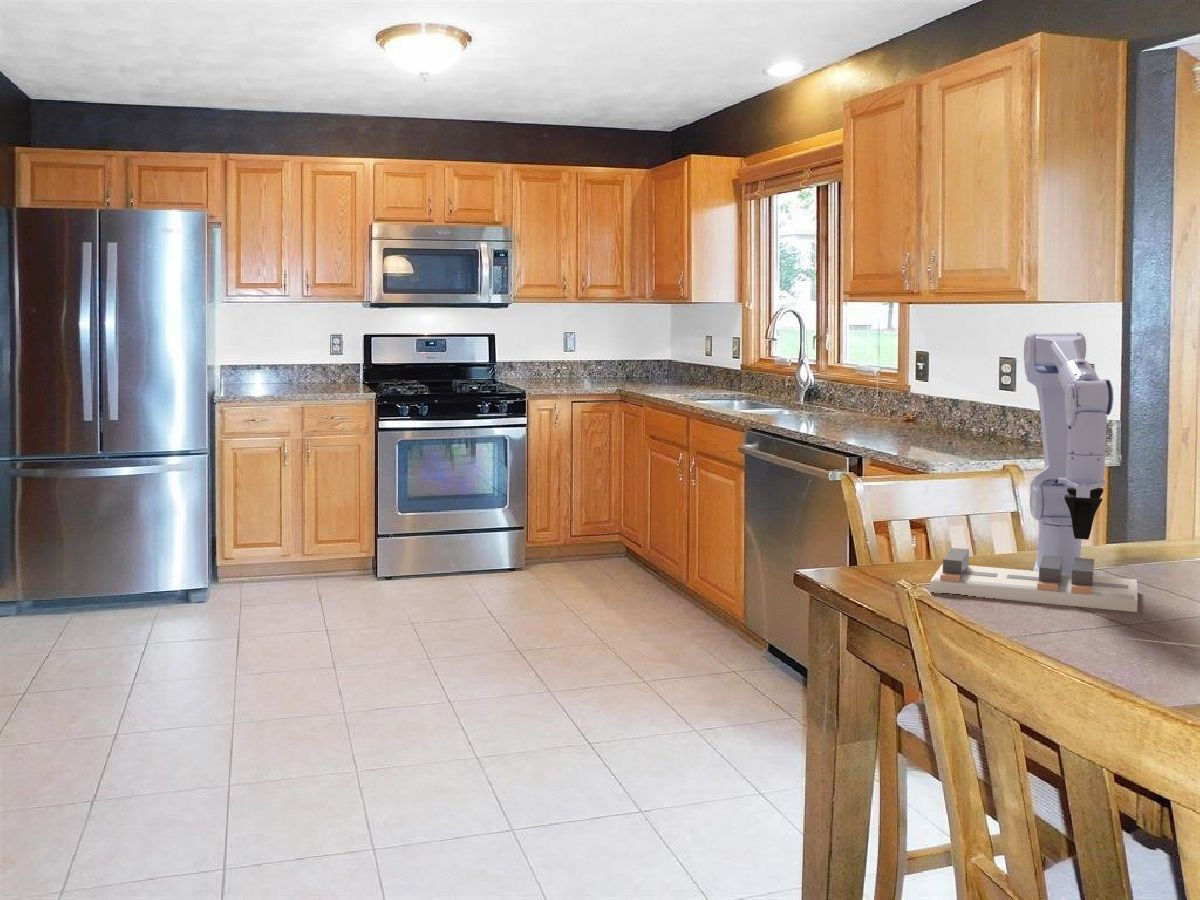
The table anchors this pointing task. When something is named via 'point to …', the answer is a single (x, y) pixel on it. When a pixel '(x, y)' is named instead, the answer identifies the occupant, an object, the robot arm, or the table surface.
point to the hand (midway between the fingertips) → (1082, 534)
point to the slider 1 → (956, 561)
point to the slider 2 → (1083, 572)
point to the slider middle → (1050, 569)
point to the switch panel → (1038, 588)
